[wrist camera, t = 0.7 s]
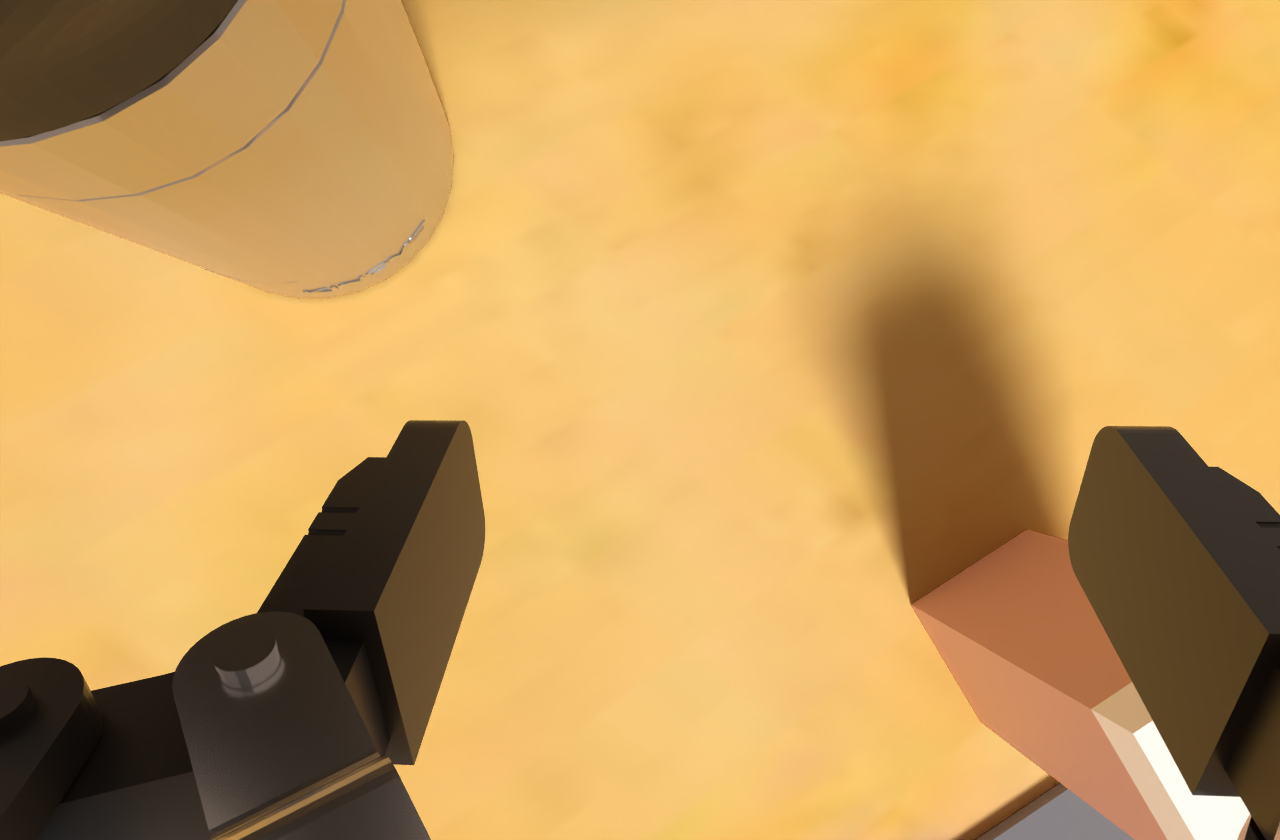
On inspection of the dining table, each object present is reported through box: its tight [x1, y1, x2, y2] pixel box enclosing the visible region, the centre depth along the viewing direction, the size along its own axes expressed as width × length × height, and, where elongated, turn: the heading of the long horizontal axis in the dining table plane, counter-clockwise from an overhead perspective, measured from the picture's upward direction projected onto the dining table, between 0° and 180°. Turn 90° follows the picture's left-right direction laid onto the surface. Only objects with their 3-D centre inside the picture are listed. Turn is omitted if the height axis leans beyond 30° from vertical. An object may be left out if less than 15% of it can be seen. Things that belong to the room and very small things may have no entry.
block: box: [911, 529, 1250, 840], centre depth 25 cm, size 5×5×12 cm
